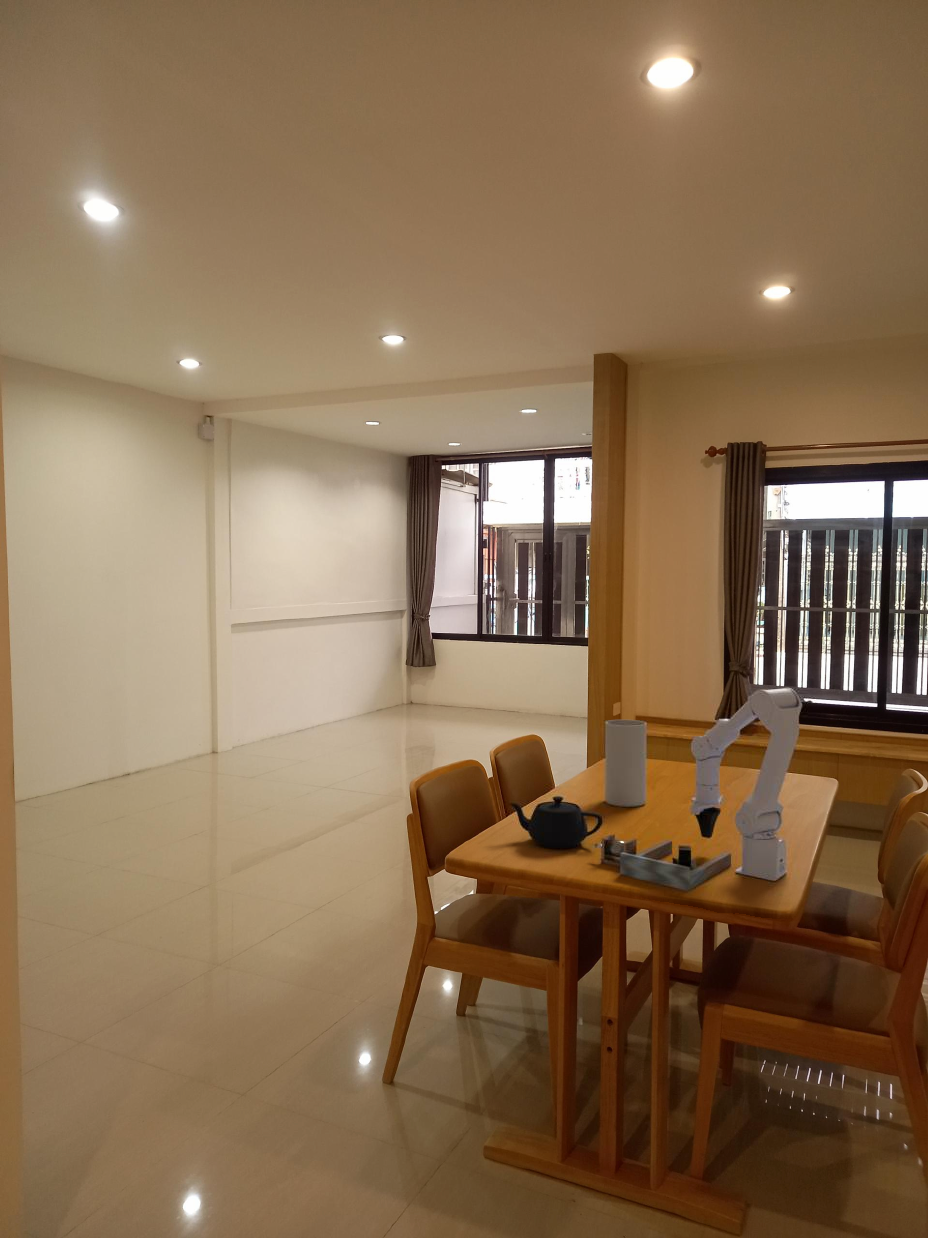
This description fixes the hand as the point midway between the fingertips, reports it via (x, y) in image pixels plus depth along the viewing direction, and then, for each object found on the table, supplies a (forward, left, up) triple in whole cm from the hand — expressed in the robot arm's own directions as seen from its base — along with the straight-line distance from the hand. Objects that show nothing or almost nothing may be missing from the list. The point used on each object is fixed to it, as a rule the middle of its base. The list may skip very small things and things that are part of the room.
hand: (706, 837), depth 218 cm
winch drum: (+14, +21, -4) cm, 26 cm away
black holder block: (0, +11, -5) cm, 12 cm away
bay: (0, +16, -4) cm, 17 cm away
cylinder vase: (+41, -32, -4) cm, 53 cm away
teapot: (+34, +17, -4) cm, 39 cm away
